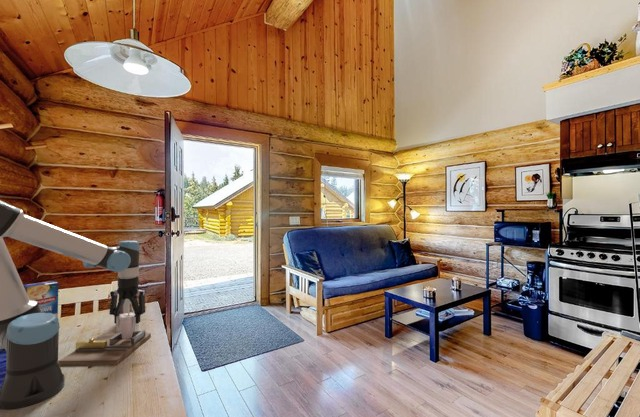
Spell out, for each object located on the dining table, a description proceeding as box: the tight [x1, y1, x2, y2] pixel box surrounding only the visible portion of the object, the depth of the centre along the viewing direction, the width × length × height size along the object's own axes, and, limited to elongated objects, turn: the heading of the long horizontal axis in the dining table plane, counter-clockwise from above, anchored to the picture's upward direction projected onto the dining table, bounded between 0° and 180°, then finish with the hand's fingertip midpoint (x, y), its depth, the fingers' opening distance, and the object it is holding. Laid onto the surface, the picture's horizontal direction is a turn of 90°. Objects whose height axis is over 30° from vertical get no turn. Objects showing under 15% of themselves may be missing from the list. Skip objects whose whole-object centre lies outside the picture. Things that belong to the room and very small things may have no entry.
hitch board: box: [58, 332, 152, 366], centre depth 121 cm, size 24×21×2 cm
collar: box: [109, 329, 146, 345], centre depth 126 cm, size 9×10×2 cm
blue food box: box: [23, 280, 59, 318], centre depth 138 cm, size 7×11×22 cm, turn 146°
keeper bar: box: [75, 337, 107, 350], centre depth 117 cm, size 2×11×4 cm, turn 93°
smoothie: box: [119, 305, 135, 339], centre depth 125 cm, size 6×6×14 cm
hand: (127, 330), depth 125 cm, fingers closed on smoothie, 6 cm apart
